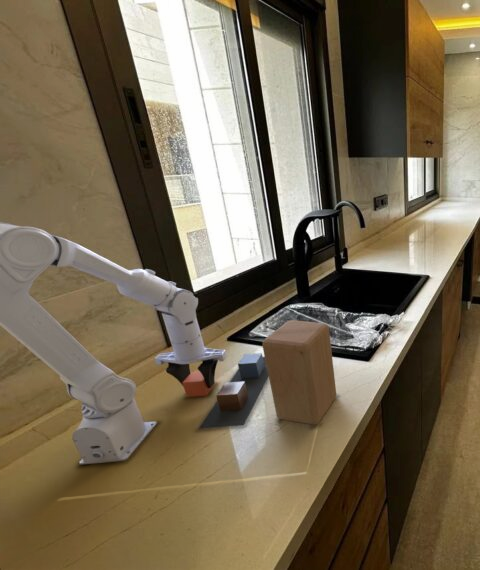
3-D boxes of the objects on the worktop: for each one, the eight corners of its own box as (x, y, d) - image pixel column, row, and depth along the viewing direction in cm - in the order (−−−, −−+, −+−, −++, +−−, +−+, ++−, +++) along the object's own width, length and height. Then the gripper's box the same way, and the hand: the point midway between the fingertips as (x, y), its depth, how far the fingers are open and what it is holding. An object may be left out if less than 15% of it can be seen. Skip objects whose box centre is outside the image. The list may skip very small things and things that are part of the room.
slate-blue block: (259, 377, 84) (256, 362, 83) (241, 378, 84) (237, 363, 82) (264, 367, 88) (261, 353, 87) (247, 368, 88) (244, 354, 86)
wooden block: (317, 427, 69) (305, 346, 62) (275, 420, 71) (259, 340, 64) (338, 396, 78) (330, 322, 71) (300, 390, 80) (288, 317, 73)
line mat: (243, 425, 69) (243, 424, 69) (198, 429, 68) (198, 428, 68) (279, 357, 93) (278, 356, 93) (245, 359, 92) (245, 358, 92)
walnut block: (241, 409, 73) (237, 393, 72) (220, 411, 73) (215, 395, 71) (248, 396, 78) (244, 381, 76) (228, 397, 77) (224, 382, 75)
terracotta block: (206, 396, 78) (202, 381, 76) (187, 397, 77) (182, 382, 76) (215, 384, 82) (211, 369, 80) (196, 385, 81) (192, 371, 80)
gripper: (227, 327, 79) (238, 373, 84) (162, 330, 77) (177, 378, 82) (213, 342, 72) (226, 392, 77) (142, 346, 71) (160, 397, 75)
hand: (200, 386), depth 79 cm, fingers closed on terracotta block, 4 cm apart
